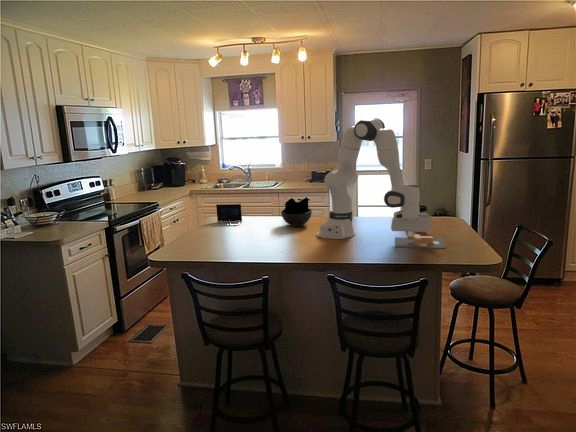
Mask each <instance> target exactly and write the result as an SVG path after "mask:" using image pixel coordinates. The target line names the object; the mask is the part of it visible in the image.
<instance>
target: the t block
mask: <svg viewBox="0 0 576 432" xmlns="http://www.w3.org/2000/svg"><path fill="white" fill-rule="evenodd" d="M433 238H434V237H433V236H432V235H420V234H419V233H415V235H414V236H413V245H421V243H433Z"/></svg>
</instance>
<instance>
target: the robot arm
mask: <svg viewBox="0 0 576 432" xmlns="http://www.w3.org/2000/svg"><path fill="white" fill-rule="evenodd" d="M363 141H366V142H374V144H375V149H376V154H377V155H376V156H377V159H378V162H379V164H380V165H381V166H382V167H384V168H385V169H386V170H387V172H388V175H389V179H390V184H391V185H390V186H391V189H390V190H389V191H387V192H386V193H385V194H384V196H383V201H384V204H385V205H386V206H387V207H389V208H392V209H393V208H399V207H400V208H401V210H397V211H395V212H393V217H392V220H391V224H390V225H391V226H390V229H391V231H392V232H405V234H406V236H407V238H408V239H413V236H414V235H415V234H416V233H424V232H425V233H428V232H430V231H431V221H432V216H431V215H430V214H429V213H426V214H419V209H420V208H419V206H420V197H421V196H420V195H421V194H420V187H419V185H417V184H415V183H412V182H409V183H408V182H406V183H404V180H403V175H402V170H401V169H402V168H401V164H400V152H399V145H398V139H397V136H396V134H395V132H394V130H393V129H391V128H386V126H385V123H384V121H382V119H379V118H377V117H374V118H373V117H371V118H369V117H368V118H365V119H363V118H362V119H361V120H359V121H357V123H355V124H354V125H352V126H351V125H350V126H349V127H347V128H346V129H345V132H344V133H343V136H342V138H341V142H340V145H339V149H338V154H337V160H338V169H334V170H331V171H329V172H328V173H327V174H326V175H324V181H323V182H324V186H326V188H327V189H328V190H329V193H330V196H331V201H332V203H331V204H332V210H330V211H329V212H328V213H329V214H328V217H329V218H328V219H326V220H325V221H323V222H322V224H320V228H319V230H318V231H317V232H316V235H315V237H317V238H319V237H321V239H334V240H335V239H337V240H343V239H347V238H352V237H354V236H355V235H356V234H355V231H354V227H353V217H354V215H353V211H352V197H351V196H350V195H349V192H348V187H351V186H352V185H354V184H355V183H356V182H357V181H358V178H359V175H358V172H357V161H358V157H359V154H360V150H361V147H362V143H363ZM419 216H420V217H419ZM415 231H417V232H415ZM409 232H412V234H411V235H410V234H409Z"/></svg>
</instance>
